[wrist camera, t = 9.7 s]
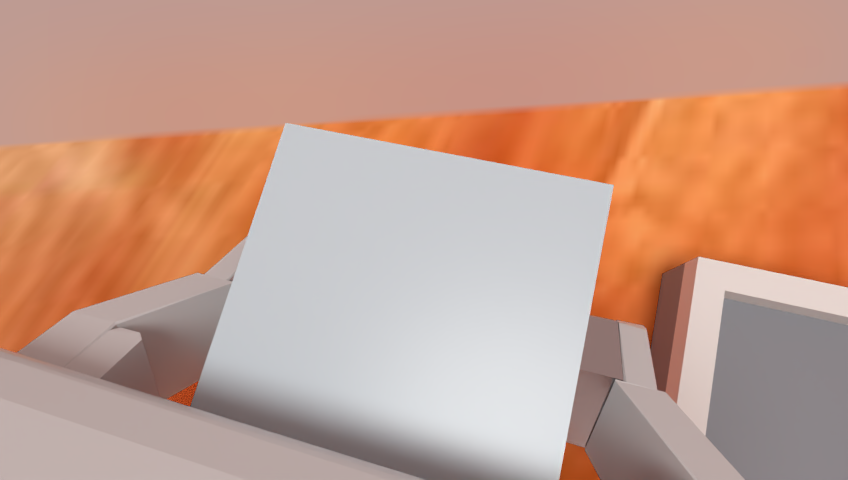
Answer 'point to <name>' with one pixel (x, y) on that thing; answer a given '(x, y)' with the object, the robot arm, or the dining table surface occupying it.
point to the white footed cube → (410, 308)
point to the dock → (757, 366)
